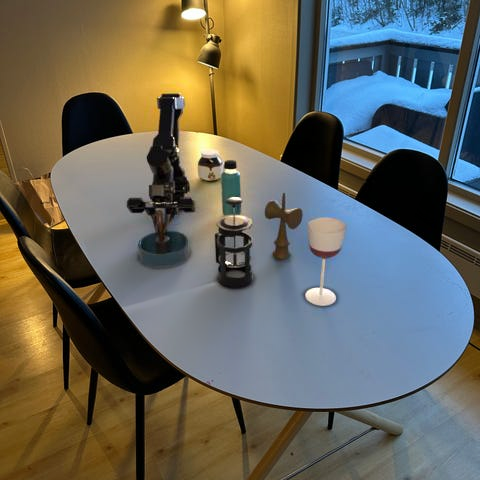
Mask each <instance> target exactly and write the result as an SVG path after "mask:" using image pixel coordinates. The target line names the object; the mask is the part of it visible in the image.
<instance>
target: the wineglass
mask: <svg viewBox="0 0 480 480" xmlns="http://www.w3.org/2000/svg"><path fill="white" fill-rule="evenodd" d="M346 232H347V224H346V223H345V222H344V221H343V220H340V219H337V218H334V217H317V218H313V219H311V220H309V221H308V223H307V240H308V246H309V247H308V248H309V250H310V252H311V253H312V254H313V255H314V256H316V257H317V258H320V259H321V270H320V283H319V287H312V288H310V289H308V290H307V291H306V293H305V299H306V300H307V301H308V302H309V303H310V304H313V305H316V306H323V307H324V306H325V307H326V306H330V305H332V304H334V303H335V302H336V299H337V296H336V294H335V293H334V292H333V291H332V290H331V289H329V288H324V282H325V281H324V280H325V269H326V260H327V259H330V258H334V257H336V256H337V255H338V254H339V253H340V252H341V251H342V248H343V245H344V241H345V237H346Z"/></svg>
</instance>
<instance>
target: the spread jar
mask: <svg viewBox="0 0 480 480" xmlns="http://www.w3.org/2000/svg"><path fill="white" fill-rule="evenodd" d="M200 154H201V156H200V158H199V159H198V160H197V161H198V162H197V175H198V178H199V179H200V180H201V181H203V182H204V183H217V182H218V181H220V180H221V174H222V173H223V172H224V171H225V170H228V169H225V168H224V162H225V161H224V160H222V158H221V157H220V156H219V151H218V150H215V149H205V150H202V151H201V152H200Z"/></svg>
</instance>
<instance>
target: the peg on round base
mask: <svg viewBox="0 0 480 480" xmlns="http://www.w3.org/2000/svg"><path fill="white" fill-rule="evenodd" d="M156 211H157V222H158V232H159V237H157V238H156V239H155V245H156V254H166V253H170V242H169V237H167V236H165V234H163V226H164V216H163V215H164V214H163V211H162V210H161V209H157V210H156Z"/></svg>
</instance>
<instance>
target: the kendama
mask: <svg viewBox="0 0 480 480" xmlns="http://www.w3.org/2000/svg"><path fill="white" fill-rule="evenodd" d="M303 216H304V215H303V210H302V208H300V207H295V208H293V209H286V193H285V192H282V197H281V205H280V203H279V201H277V200H275V199H271V200H270V201H268V202H267V204H265V208H264V217H265V219H267V220H273V219H280V221H279V227H278V233H277V237H276V238H275V239H274V240H273V244H274V246H275V248H274V250H273V251H272V253H271V254H272V256H273V258H274V259H276V260H279V261H280V260H281V261H283V260H288V259H290V257H291V255H292V254H291V252H290V250H289V246H290V245H291V241H290V240H289V239H288V235H287V227H288V229H290V230H296V229H297V228H298V227H300V225H301V223H302V221H303Z"/></svg>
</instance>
